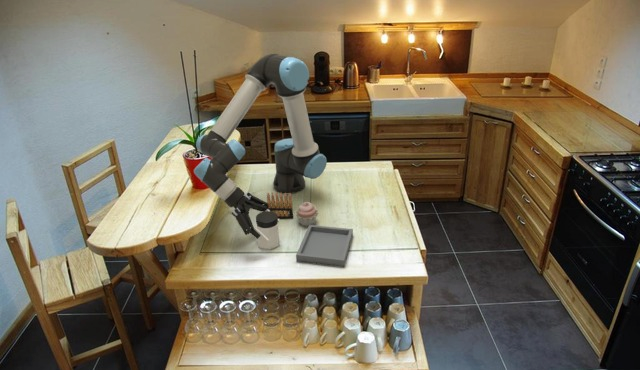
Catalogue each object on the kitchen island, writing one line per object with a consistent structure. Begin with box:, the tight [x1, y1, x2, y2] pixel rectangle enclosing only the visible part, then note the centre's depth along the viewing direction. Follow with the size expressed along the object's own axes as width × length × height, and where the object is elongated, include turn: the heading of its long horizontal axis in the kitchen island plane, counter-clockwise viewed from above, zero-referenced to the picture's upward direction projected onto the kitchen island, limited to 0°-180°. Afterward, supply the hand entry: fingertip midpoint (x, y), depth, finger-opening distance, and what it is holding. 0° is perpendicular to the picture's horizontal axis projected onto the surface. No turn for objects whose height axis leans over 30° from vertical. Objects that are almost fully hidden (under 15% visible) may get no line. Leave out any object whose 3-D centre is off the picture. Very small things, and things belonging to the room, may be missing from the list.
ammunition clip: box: [266, 192, 294, 220], centre depth 190 cm, size 11×2×12 cm, turn 87°
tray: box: [295, 224, 354, 268], centre depth 172 cm, size 20×17×3 cm
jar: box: [255, 211, 280, 250], centre depth 173 cm, size 9×8×12 cm
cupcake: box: [295, 201, 319, 228], centre depth 186 cm, size 9×9×10 cm
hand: (272, 232), depth 173 cm, fingers open, 13 cm apart
